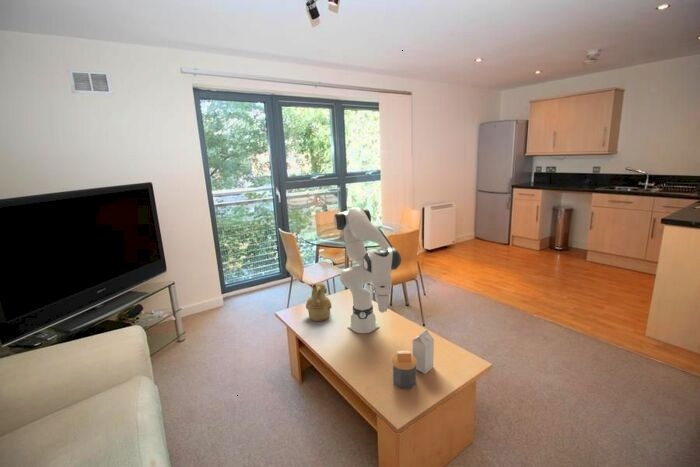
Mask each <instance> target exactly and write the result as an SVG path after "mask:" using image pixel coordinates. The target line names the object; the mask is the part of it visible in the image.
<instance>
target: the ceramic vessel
mask: <svg viewBox="0 0 700 467" xmlns="http://www.w3.org/2000/svg"><path fill="white" fill-rule="evenodd" d="M311 289H312V296H311V297H309V298H308V299H307V301H306V303H305V308H306V310H307V312H308V317H309V318H310V320H312V321H314V322H323V321H326V320H327V319H329V317H330V315H331V309H332V302H331V300H330V298H328V297H327V295H326V294H327V292H328V289H327V287H326V284H325V283H323V282H317V283H316V284H313V285H311ZM325 295H326V296H325Z"/></svg>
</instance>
